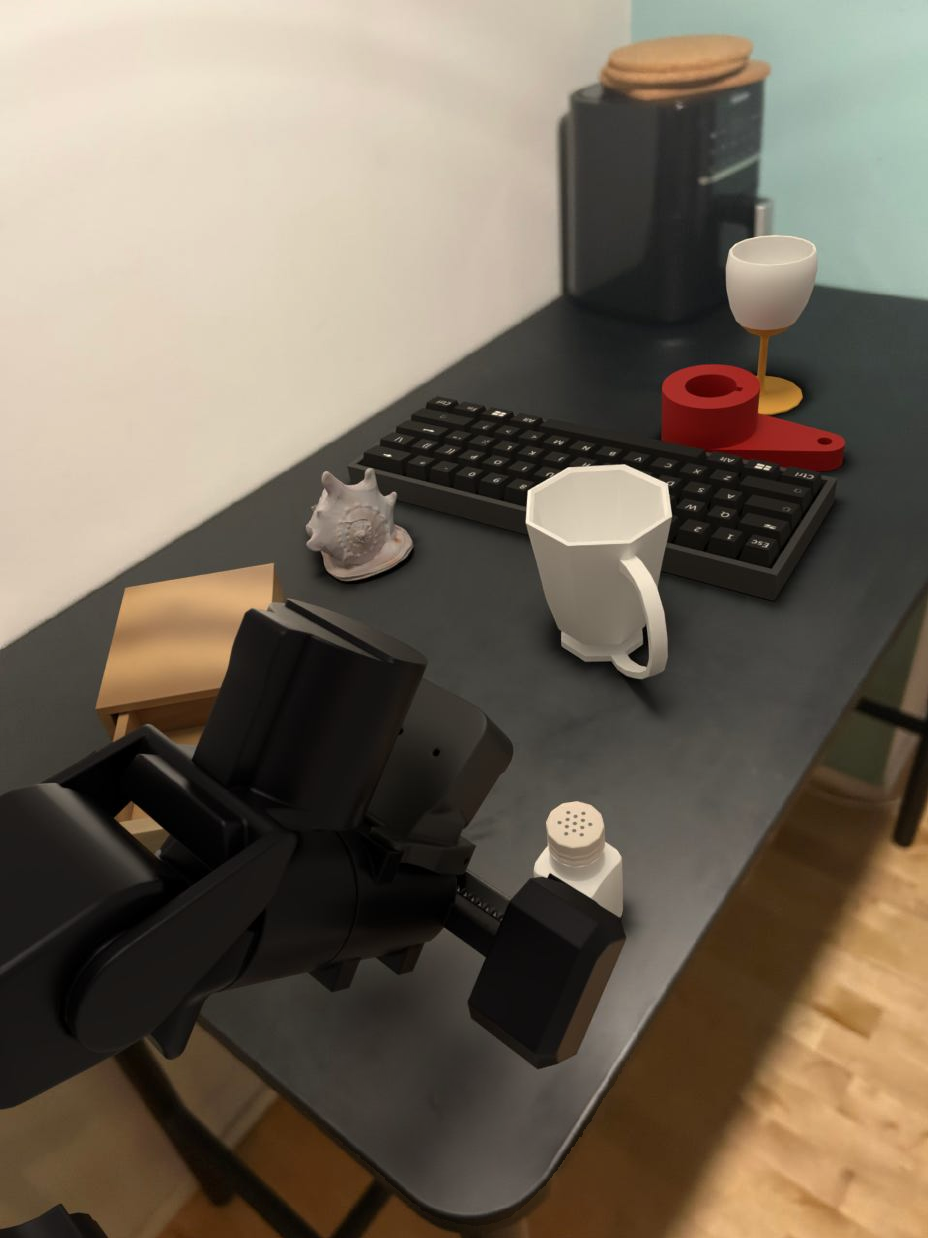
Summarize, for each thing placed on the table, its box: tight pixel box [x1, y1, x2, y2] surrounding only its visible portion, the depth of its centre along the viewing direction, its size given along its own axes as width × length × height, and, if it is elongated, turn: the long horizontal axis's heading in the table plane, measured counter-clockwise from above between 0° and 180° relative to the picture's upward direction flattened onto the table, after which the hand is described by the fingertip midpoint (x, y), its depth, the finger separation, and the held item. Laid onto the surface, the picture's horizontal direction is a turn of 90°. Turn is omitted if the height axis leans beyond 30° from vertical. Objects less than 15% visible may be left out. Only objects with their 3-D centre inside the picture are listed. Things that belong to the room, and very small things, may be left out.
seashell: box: [305, 468, 414, 582], centre depth 90 cm, size 10×12×9 cm
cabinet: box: [94, 562, 286, 743], centre depth 77 cm, size 15×13×7 cm
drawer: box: [113, 696, 217, 854], centre depth 66 cm, size 18×11×5 cm, turn 7°
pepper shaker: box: [533, 800, 624, 918], centre depth 56 cm, size 4×4×10 cm
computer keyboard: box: [346, 395, 838, 602], centre depth 94 cm, size 45×16×4 cm, turn 57°
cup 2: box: [725, 234, 818, 416], centre depth 101 cm, size 9×9×16 cm
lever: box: [660, 363, 846, 472], centre depth 96 cm, size 18×9×7 cm, turn 62°
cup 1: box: [526, 464, 672, 680], centre depth 73 cm, size 11×16×13 cm
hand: (509, 866), depth 49 cm, fingers open, 9 cm apart
